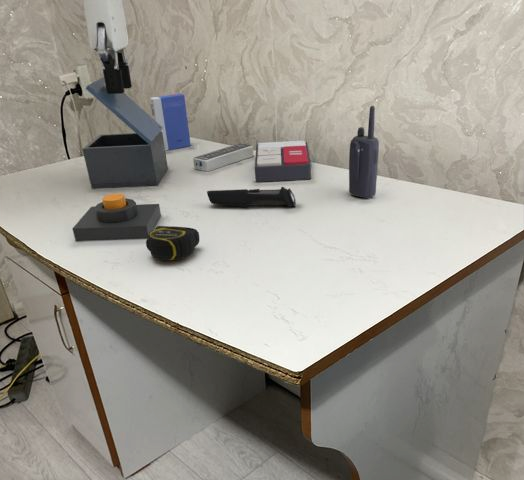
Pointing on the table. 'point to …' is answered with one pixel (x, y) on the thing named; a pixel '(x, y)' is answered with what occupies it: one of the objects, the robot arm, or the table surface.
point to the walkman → (172, 120)
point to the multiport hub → (223, 157)
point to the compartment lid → (126, 110)
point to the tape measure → (172, 242)
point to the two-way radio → (364, 161)
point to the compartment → (125, 160)
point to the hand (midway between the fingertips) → (119, 89)
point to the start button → (114, 201)
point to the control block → (117, 222)
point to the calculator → (282, 161)
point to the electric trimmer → (252, 197)
